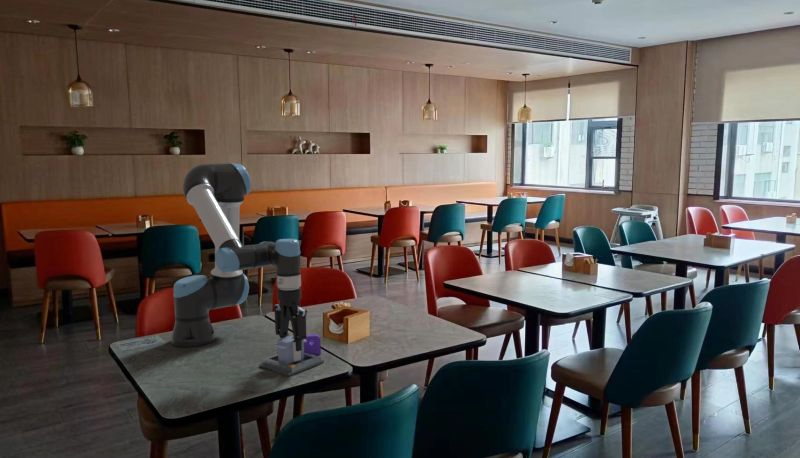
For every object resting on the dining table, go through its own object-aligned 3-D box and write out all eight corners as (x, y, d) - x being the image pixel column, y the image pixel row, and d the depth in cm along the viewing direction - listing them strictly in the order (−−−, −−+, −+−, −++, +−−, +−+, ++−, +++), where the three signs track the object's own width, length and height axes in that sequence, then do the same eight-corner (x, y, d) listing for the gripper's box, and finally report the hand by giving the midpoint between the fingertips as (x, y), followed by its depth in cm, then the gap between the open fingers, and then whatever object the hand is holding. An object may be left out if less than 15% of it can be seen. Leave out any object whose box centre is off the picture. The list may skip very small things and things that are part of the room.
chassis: (259, 366, 193) (259, 358, 192) (294, 354, 204) (294, 346, 204) (289, 376, 184) (288, 367, 184) (323, 362, 196) (323, 354, 196)
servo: (274, 362, 192) (273, 338, 191) (298, 354, 199) (297, 331, 198) (283, 365, 189) (283, 341, 188) (307, 357, 197) (306, 333, 196)
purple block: (320, 355, 204) (320, 335, 203) (300, 356, 203) (299, 337, 202) (318, 344, 216) (317, 325, 215) (299, 345, 215) (298, 327, 214)
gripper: (261, 286, 194) (264, 356, 197) (299, 293, 183) (301, 367, 186) (279, 282, 200) (282, 350, 202) (317, 289, 189) (319, 360, 192)
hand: (291, 358), depth 194 cm, fingers closed on servo, 4 cm apart
